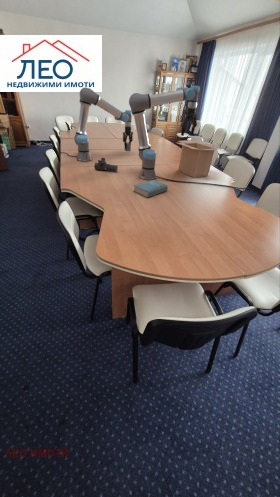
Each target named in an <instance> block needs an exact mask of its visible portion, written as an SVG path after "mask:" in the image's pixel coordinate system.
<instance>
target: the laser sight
mask: <svg viewBox="0 0 280 497" xmlns="http://www.w3.org/2000/svg"><path fill="white" fill-rule="evenodd" d="M93 167H94V169H95V170H97V171H103V172H116V173H117V172H118V170H119V169H118V168H119V166H118V165H116V164H111V163H107V162H106V157H101V159H98V160H97V162H95V163H94V164H93Z"/></svg>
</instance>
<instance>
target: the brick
mask: <svg viewBox="0 0 280 497" xmlns="http://www.w3.org/2000/svg"><path fill="white" fill-rule="evenodd" d="M126 143H127V149H126V148H125V147H124V151H125V152H131V148H132V142H131V143H129V141H126Z"/></svg>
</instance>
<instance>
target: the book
mask: <svg viewBox="0 0 280 497" xmlns="http://www.w3.org/2000/svg"><path fill="white" fill-rule="evenodd" d="M168 187H169V186H168V184H166V183H164V182H160V181H159V180H156V179H153V180H146V181H143V182H140V183H137V184H134V185H133V193H135V194H138V195H140V196H142V197H145V198H150V197H153V196H156V195H159V194H161V193H164V192H167V191H168Z"/></svg>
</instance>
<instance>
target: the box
mask: <svg viewBox="0 0 280 497" xmlns="http://www.w3.org/2000/svg"><path fill="white" fill-rule="evenodd" d="M176 144H178V145H180V146H181V151H180V158H179V163H178V171H179V172H181V173H183V174H186V175H188V176H190V177H191V178H193V179H195V178H202V177H209V175H210V169H211V166H212V161H213V159H214V158H213V157H214V153H215V150H218V149H222V146H219V145H215V144H212V143H209V142H206V141H199V142H196V141H193V140H190V139H189V140H177V142H176Z"/></svg>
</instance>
